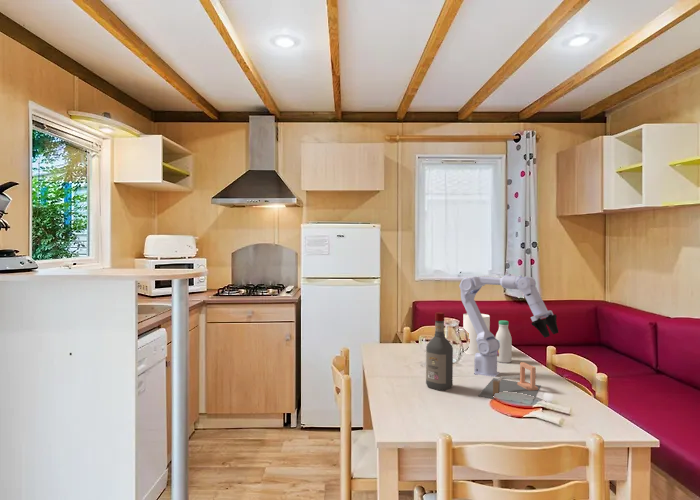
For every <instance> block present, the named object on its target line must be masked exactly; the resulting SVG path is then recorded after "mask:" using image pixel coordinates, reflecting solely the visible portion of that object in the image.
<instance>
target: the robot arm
mask: <svg viewBox="0 0 700 500" xmlns="http://www.w3.org/2000/svg"><path fill="white" fill-rule="evenodd" d="M536 284H537V283H536V280H535V279H534V277H532V276H529V275H526V276H522V274H519V275H512V274H510V273H507V274H505V275H503V276H502V277H495V276H485V275H480V276H473V277H464V278H462V279H461V280H460V283H459V285H458V287H459V289H460V301H461V302H462V305H463V306H464V308H465V312H466V314H468V316H469V318H470V320H471V322H472V325H473V327H474V329H475V331H476V333H477V339H476V341H477V344H478V350H479V352H480V353H476V354H475V356H474V367H473V368H474V373H473V374H474V375H477V376H478V375H480V376H486V377H493V378H497V377H498V375H499V374H500V371H498V362H497V351H498V350H499V348H500V343H499V341H498V340H497V339H496V336H495V335H494V334H493V333H492V332H491V331H489V330H488V328H487V326H486V324H485V322H484V319H483V317H482V315H481V314H482V313H481V311H480V309H479V307H478V305H477V302H476V300H475V298H476V296H477V294H478V292H480V290H481V289H482V287H484V286H486V285H489V286H490V285H492V286H501V288H503V289H506V290H507V289H508V290H516V291H518V290H519V291H520V292H522V294H523V297H524V298H525V300H526V302H527V304H528V306H529V309H530V311H531V313H532V315H533V316H531V317H530V319H531V323H530V324H531V325H532V326H533V327H534V328H536V329H537V330H538V331H539V333H540V334H541V335H542V336H543V338H548V337H550V336H551V335H550V332H551V333H552V334H553V335H556V334H559V328H558V322H557V314H554V313H553V310H550V309H549V310H548V308H547V305H546V304H545V302H544V301H543V298H542V297H541V295H540V292H539V290H538V288H537V287H536ZM549 331H550V332H549Z"/></svg>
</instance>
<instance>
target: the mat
mask: <svg viewBox="0 0 700 500" xmlns="http://www.w3.org/2000/svg"><path fill="white" fill-rule="evenodd" d="M494 380H498V378H497V377H493V378H492V379H491V380H490V381H489V382H488V383H487V384H486V386H485V387H484V388H483V389H482V390H481V392H480V393H479V394H478V395H477V396H478V397H479V398H484V399H485V398H486V399H491V400H494V399H493V398H494V397H493V381H494ZM517 382H518V381H515V380H510V379H502V380H501V382H500V392H503V391H508V392H517V393H523V394H527V395H531V396H534V397H535V398H536V397H537V395H538V393H539V391H540V389H541V387H542V385H539V384H535V386H536V387H538V390H531V391H529V390H527V389H525V388H523V387H521V386H519V385H517Z"/></svg>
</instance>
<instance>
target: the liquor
mask: <svg viewBox="0 0 700 500" xmlns="http://www.w3.org/2000/svg"><path fill="white" fill-rule="evenodd" d="M434 321H435V322H434V328H435V329H434V330H435V331H434V336H433V337H432V338H431V340H430V341H428V343H427V344H426V347H425V348H426V349H425V384H426V386H427V388H428V389H432V390H436V391H442V392H443V391H447V390H449V389H451V388H452V387H453V381H454V380H453V376H454V375H453V374H454V372H453V368H454V362H453V359H454V355H453V354H454V348H453V344H451V342H450V341H449V340H448V339H447V338H446V337H445V336H446V335H445V312H443V311H438V312H437V311H435V313H434Z"/></svg>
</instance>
